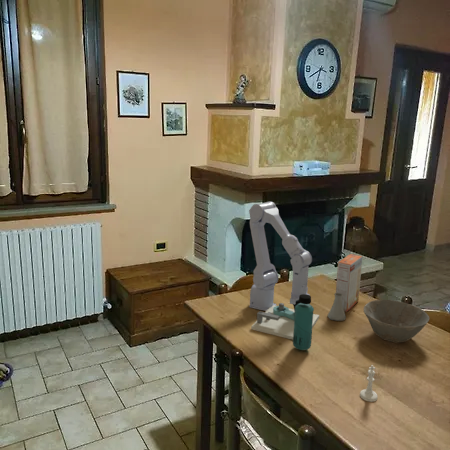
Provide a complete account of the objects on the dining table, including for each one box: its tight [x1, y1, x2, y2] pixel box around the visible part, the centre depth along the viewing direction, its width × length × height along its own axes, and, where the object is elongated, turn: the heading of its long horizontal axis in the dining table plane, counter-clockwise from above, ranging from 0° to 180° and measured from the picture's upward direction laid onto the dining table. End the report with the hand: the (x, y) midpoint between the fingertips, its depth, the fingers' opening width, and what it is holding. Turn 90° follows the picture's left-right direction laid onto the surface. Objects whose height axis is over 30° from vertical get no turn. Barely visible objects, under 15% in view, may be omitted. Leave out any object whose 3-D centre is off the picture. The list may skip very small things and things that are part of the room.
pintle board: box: [250, 302, 320, 341], centre depth 171 cm, size 20×22×5 cm
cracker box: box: [335, 253, 363, 313], centre depth 187 cm, size 14×6×21 cm, turn 144°
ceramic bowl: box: [363, 299, 430, 343], centre depth 162 cm, size 22×23×10 cm
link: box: [273, 305, 295, 320], centre depth 173 cm, size 17×6×2 cm, turn 44°
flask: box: [327, 292, 347, 322], centre depth 176 cm, size 7×7×10 cm
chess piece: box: [359, 364, 378, 403], centre depth 127 cm, size 5×5×10 cm
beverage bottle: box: [292, 293, 315, 351], centre depth 150 cm, size 6×7×20 cm
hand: (297, 314), depth 174 cm, fingers closed, pressing on link
